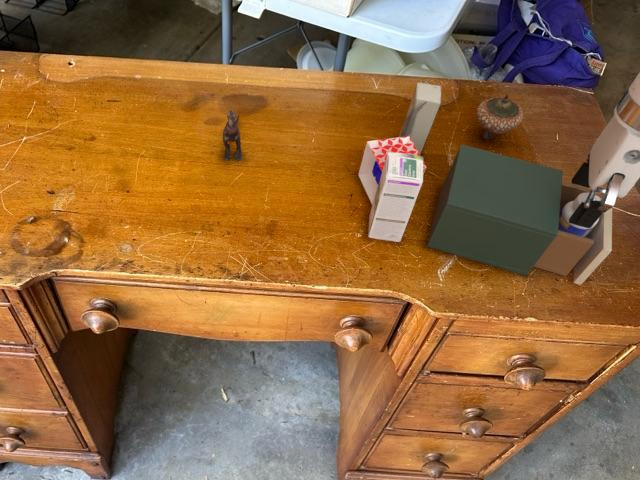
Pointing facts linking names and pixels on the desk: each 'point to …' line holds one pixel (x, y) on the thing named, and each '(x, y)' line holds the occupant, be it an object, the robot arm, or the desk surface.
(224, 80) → the desk surface
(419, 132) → the box
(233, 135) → the dinosaur model
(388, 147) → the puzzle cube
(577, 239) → the drawer
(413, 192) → the syrup box
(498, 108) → the acorn
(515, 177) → the cabinet
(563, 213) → the pill bottle
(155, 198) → the desk surface
